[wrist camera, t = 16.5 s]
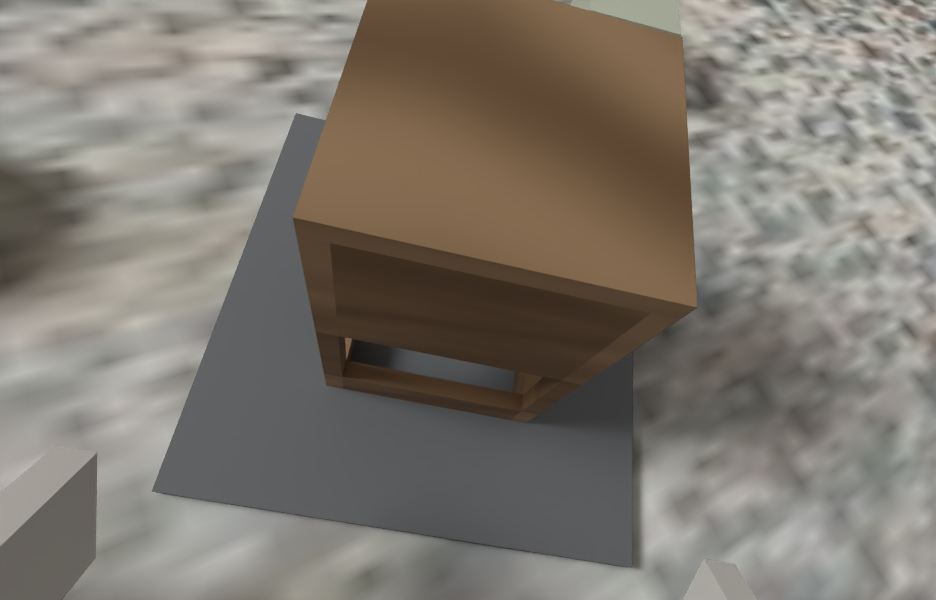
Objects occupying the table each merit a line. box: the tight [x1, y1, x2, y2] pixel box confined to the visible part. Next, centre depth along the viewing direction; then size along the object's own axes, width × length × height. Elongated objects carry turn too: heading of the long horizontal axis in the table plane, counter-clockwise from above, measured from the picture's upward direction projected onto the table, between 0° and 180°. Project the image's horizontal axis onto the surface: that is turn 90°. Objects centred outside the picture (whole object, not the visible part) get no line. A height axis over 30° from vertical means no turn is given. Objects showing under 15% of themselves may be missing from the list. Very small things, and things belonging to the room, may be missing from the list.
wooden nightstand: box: [293, 0, 697, 423], centre depth 16 cm, size 7×7×11 cm
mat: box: [152, 113, 633, 568], centre depth 21 cm, size 16×16×1 cm
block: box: [571, 0, 681, 36], centre depth 27 cm, size 4×4×4 cm
